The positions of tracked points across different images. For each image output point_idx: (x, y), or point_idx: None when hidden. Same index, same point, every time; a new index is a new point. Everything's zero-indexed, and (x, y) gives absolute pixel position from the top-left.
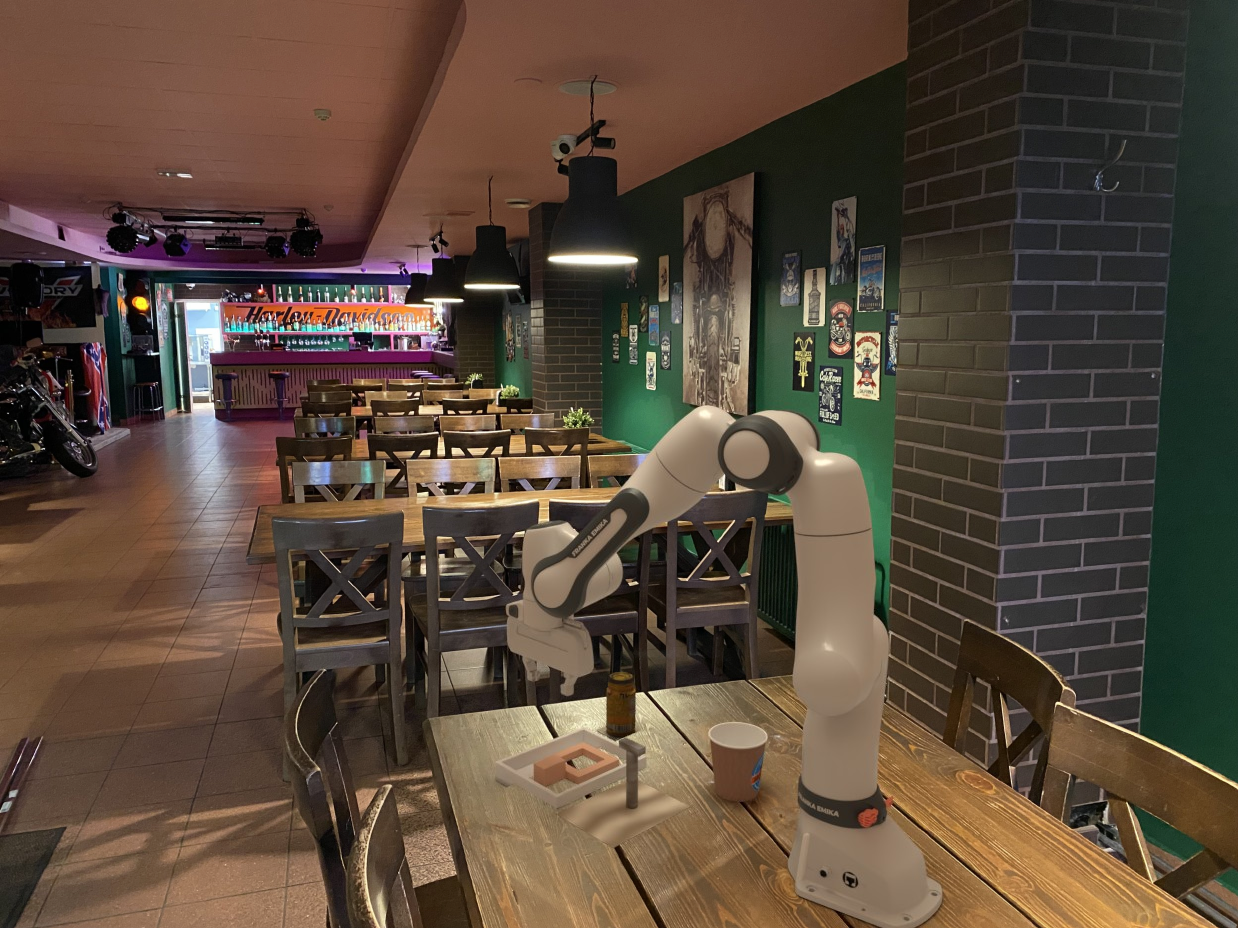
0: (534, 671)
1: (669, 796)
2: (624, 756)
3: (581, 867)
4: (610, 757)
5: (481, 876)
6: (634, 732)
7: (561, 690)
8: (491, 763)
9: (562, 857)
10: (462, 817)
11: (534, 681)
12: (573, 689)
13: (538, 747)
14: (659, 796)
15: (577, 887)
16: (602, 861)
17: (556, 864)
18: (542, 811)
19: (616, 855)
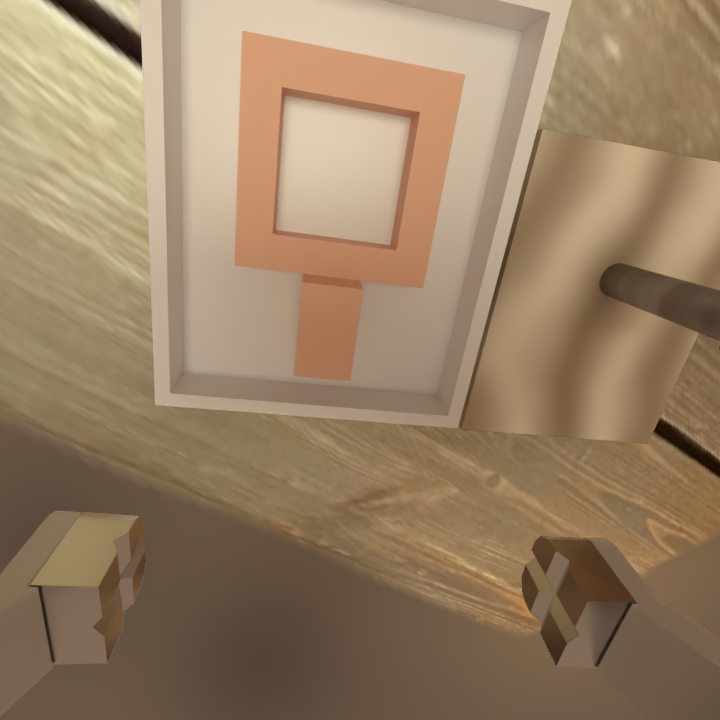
0: (82, 627)
1: (698, 160)
2: (447, 4)
3: (592, 489)
4: (428, 84)
5: (453, 599)
6: None
7: (543, 618)
8: (68, 317)
9: (543, 490)
10: (271, 526)
11: (145, 554)
12: (626, 562)
13: (167, 231)
14: (670, 181)
15: (613, 528)
16: (620, 454)
17: (546, 510)
18: None
19: None
